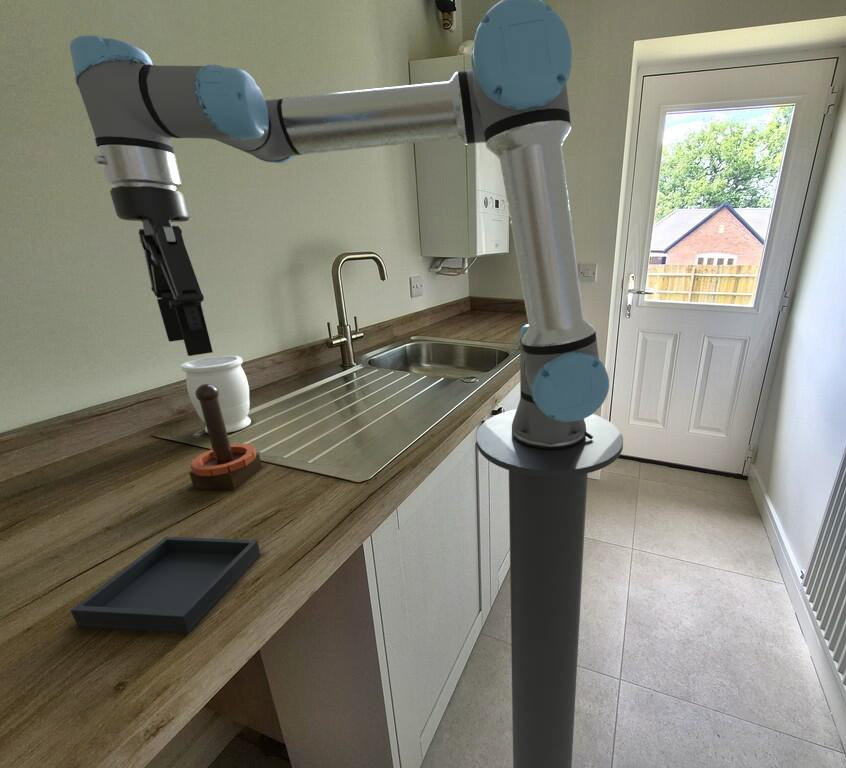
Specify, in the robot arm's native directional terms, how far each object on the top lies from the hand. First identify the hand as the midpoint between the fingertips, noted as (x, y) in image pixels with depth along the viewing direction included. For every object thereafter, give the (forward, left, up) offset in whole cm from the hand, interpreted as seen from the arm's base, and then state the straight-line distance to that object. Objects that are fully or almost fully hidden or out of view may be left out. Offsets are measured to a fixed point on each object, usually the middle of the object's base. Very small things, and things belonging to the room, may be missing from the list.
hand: (189, 346), depth 60 cm
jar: (+16, -22, -24) cm, 36 cm away
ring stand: (+1, -2, -23) cm, 23 cm away
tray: (-11, +21, -23) cm, 33 cm away
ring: (+1, -2, -20) cm, 20 cm away
